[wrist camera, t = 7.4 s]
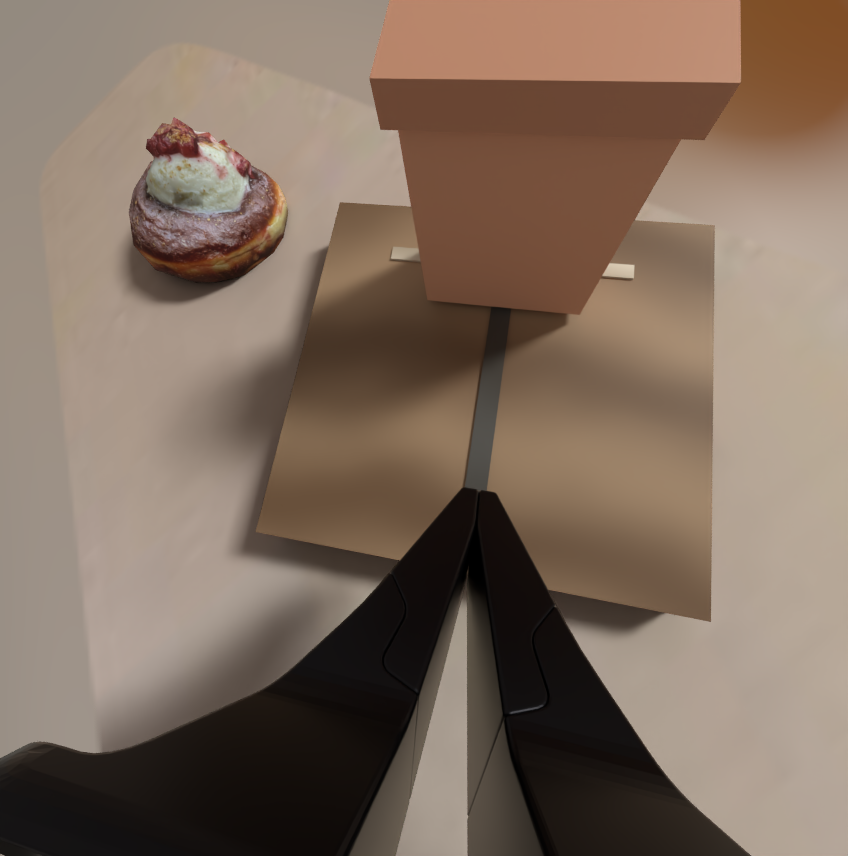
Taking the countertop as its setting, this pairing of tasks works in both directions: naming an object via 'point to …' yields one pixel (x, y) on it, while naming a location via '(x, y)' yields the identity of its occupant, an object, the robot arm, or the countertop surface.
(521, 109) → the handle
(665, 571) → the fader track
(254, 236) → the pastry
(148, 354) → the countertop surface
